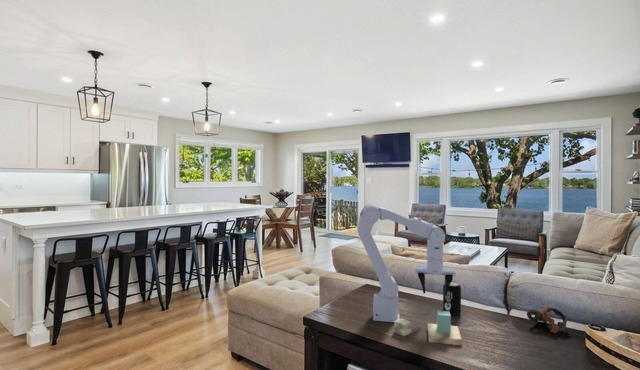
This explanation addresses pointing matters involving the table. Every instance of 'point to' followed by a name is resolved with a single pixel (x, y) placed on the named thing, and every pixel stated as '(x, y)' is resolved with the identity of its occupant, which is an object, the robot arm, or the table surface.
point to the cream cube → (402, 327)
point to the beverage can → (452, 299)
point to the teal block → (443, 322)
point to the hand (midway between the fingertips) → (434, 293)
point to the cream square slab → (444, 335)
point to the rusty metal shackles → (548, 318)
